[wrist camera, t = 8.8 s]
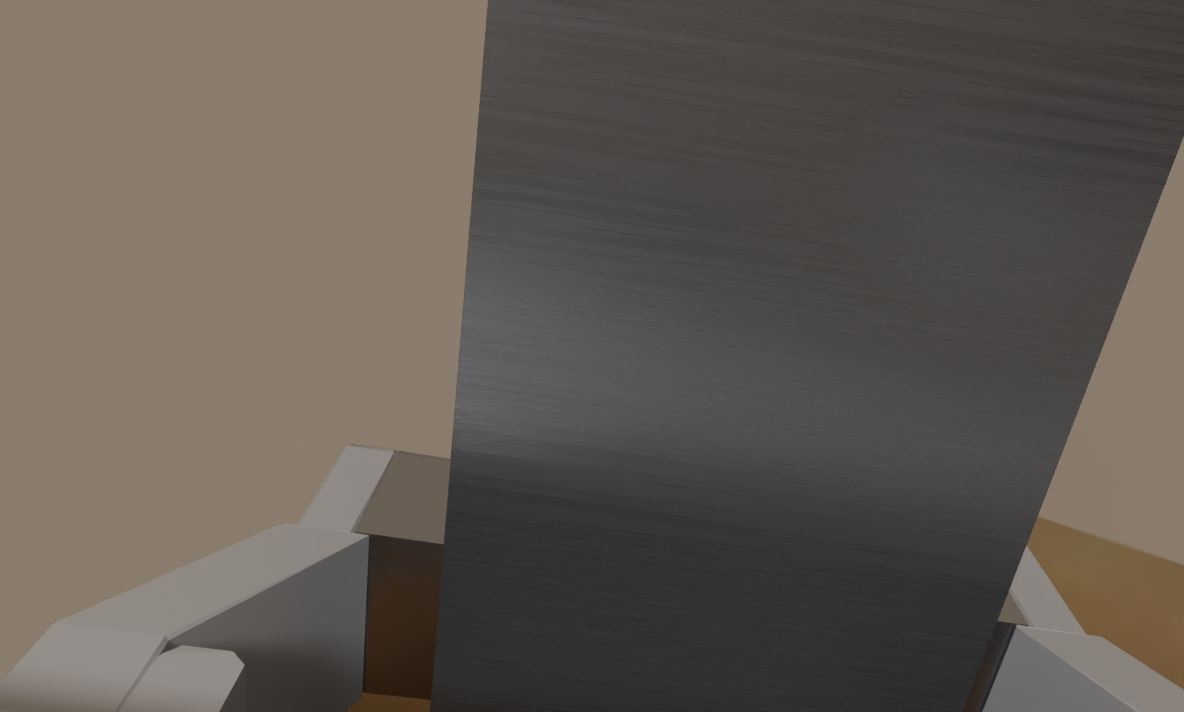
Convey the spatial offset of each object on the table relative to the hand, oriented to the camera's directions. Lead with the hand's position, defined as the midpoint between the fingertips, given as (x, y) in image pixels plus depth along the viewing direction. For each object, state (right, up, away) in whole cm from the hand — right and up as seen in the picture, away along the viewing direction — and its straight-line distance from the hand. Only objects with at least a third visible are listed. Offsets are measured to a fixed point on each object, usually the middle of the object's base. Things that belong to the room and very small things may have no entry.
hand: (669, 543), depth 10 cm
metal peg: (-1, -6, +2) cm, 6 cm away
